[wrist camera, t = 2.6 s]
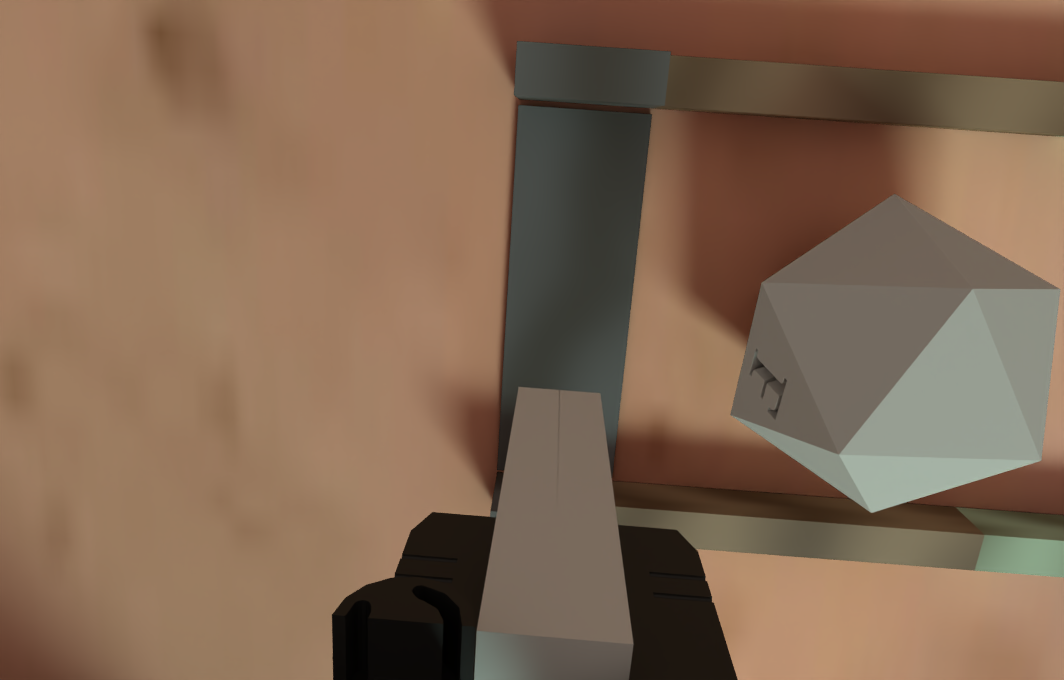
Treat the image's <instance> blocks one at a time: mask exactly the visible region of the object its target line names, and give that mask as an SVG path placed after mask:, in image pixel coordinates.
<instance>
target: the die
mask: <svg viewBox="0 0 1064 680" xmlns="http://www.w3.org/2000/svg"><path fill="white" fill-rule="evenodd" d="M1059 297H1060V289H1059V288H1057V287H1055V286H1054V285H1052V284H1050V283H1048V282H1047V281H1045V280H1043V279H1041V278H1040V277H1038V276H1036V275H1034V274H1033V273H1031V272H1029V271H1028V270H1026V269H1024V268H1022V267H1021V266H1019V265H1017V264H1015V263H1014V262H1012V261H1010V260H1008V259H1007V258H1005V257H1003V256H1001V255H1000V254H998V253H996V252H995V251H993V250H991V249H989V248H988V247H986V246H984V245H982V244H981V243H979V242H977V241H975V240H974V239H972V238H970V237H969V236H967V235H965V234H963V233H962V232H960V231H958V230H956V229H955V228H953V227H951V226H949V225H948V224H946V223H944V222H942V221H941V220H939V219H937V218H936V217H934V216H932V215H930V214H929V213H927V212H925V211H923V210H922V209H920V208H918V207H916V206H915V205H913V204H911V203H910V202H908V201H906V200H904V199H903V198H901V197H899V196H897V195H896V194H893V195H892V196H890V197H889V198H887V199H886V200H884V201H883V202H881V203H880V204H878V205H877V206H875V207H874V208H872V209H871V210H869V211H868V212H866V213H865V214H863V215H862V216H860V217H859V218H857V219H856V220H854V221H853V222H851V223H850V224H848V225H847V226H845V227H844V228H842V229H841V230H839V231H838V232H836V233H835V234H833V235H832V236H830V237H829V238H827V239H826V240H824V241H823V242H821V243H820V244H818V245H817V246H816V247H814V248H813V249H811V250H810V251H808V252H807V253H805V254H804V255H802V256H801V257H799V258H798V259H796V260H795V261H793V262H792V263H790V264H789V265H787V266H786V267H784V268H783V269H781V270H780V271H778V272H777V273H775V274H774V275H772V276H771V277H769V278H768V279H766V280H765V281H763V282H762V283H761V288H760V292H759V296H758V300H757V304H756V309H755V313H754V317H753V321H752V326H751V330H750V334H749V338H748V343H747V347H746V351H745V355H744V359H743V364H742V368H741V372H740V376H739V381H738V385H737V389H736V393H735V397H734V402H733V406H732V410H731V414H730V415H731V416H733V417H734V418H736V419H737V420H739V421H740V422H741V423H743V424H744V425H746V426H747V427H749V428H750V429H752V430H753V431H754V432H756V433H757V434H759V435H760V436H762V437H763V438H764V439H766V440H767V441H769V442H770V443H772V444H773V445H775V446H776V447H777V448H779V449H780V450H782V451H783V452H785V453H786V454H787V455H789V456H790V457H792V458H793V459H795V460H796V461H797V462H799V463H800V464H802V465H803V466H805V467H806V468H808V469H809V470H810V471H812V472H813V473H815V474H816V475H818V476H819V477H820V478H822V479H823V480H825V481H826V482H828V483H829V484H831V485H832V486H833V487H835V488H836V489H838V490H839V491H841V492H842V493H843V494H845V495H846V496H848V497H849V498H851V499H852V500H854V501H855V502H856V503H858V504H859V505H861V506H862V507H864V508H865V509H866V510H868V511H869V512H871V513H873V512H876V511H879V510H883V509H886V508H889V507H892V506H896V505H899V504H902V503H905V502H909V501H912V500H915V499H918V498H922V497H925V496H928V495H931V494H935V493H938V492H941V491H944V490H948V489H951V488H954V487H957V486H961V485H964V484H967V483H970V482H974V481H977V480H980V479H984V478H987V477H990V476H993V475H997V474H1000V473H1003V472H1006V471H1010V470H1013V469H1016V468H1019V467H1023V466H1026V465H1029V464H1032V463H1036V462H1039V461H1041V458H1042V449H1043V440H1044V431H1045V422H1046V413H1047V404H1048V395H1049V386H1050V377H1051V368H1052V359H1053V350H1054V341H1055V332H1056V323H1057V314H1058V306H1059Z"/></svg>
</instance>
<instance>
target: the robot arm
mask: <svg viewBox="0 0 1064 680" xmlns="http://www.w3.org/2000/svg"><path fill="white" fill-rule="evenodd" d="M332 635H333V680H737V676H736V673H735V670H734V667H733V663H732V660H731V657H730V654H729V651H728V647H727V644H726V641H725V638H724V634H723V631H722V628H721V625H720V622H719V618H718V615H717V612H716V609H715V605H714V603H713V602H712V596H711V593H710V589H709V586H708V583H707V581H705V573H704V570H703V567H702V563H701V560H700V557H699V554H698V551H697V550H696V549H695V548H694V547H693V546H692V545H691V544H690V543H689V542H688V541H687V540H686V539H685V538H684V537H683V536H682V535H681V534H680V532H679V531H678V530H674V529H662V528H650V527H638V526H625V525H618V523H617V516H616V508H615V500H614V493H613V485H612V478H611V470H610V463H609V455H608V448H607V440H606V432H605V425H604V417H603V410H602V402H601V395H600V393H591V392H578V391H566V390H553V389H540V388H527V387H519V388H518V394H517V400H516V406H515V412H514V417H513V423H512V429H511V435H510V441H509V446H508V452H507V458H506V464H505V469H504V475H503V481H502V487H501V493H500V498H499V504H498V510H497V516H496V517H485V516H472V515H460V514H448V513H436V512H432V513H431V514H430V515H429V516H428V517H426V518H425V519H424V520H423V521H422V522H421V523H419V524H418V525H417V526H416V527H415V528H414V529H412V530H411V532H410V535H409V537H408V540H407V543H406V545H405V548H404V551H403V553H402V559H400V561H399V564H398V567H397V569H396V572H395V578H389V579H385V580H382V581H378V582H375V583H371V584H368V585H365V586H364V587H362V588H361V589H359V590H357V591H356V592H354V593H352V594H351V595H349V596H347V597H346V598H345V599H344V600H343V602H342V603H341V604H340V605H339V607H338V608H337V609H336V610H335V612H334V613H333V614H332Z"/></svg>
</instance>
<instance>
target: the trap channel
mask: <svg viewBox="0 0 1064 680" xmlns="http://www.w3.org/2000/svg"><path fill="white" fill-rule="evenodd" d="M514 95H515V96H516V97H517V98H518V99H525V100H539V101H554V102H568V103H583V104H597V105H611V106H626V107H640V108H655V109H669V110H684V111H698V112H712V113H727V114H741V115H756V116H770V117H785V118H799V119H814V120H828V121H842V122H857V123H871V124H886V125H900V126H915V127H929V128H943V129H958V130H972V131H987V132H1001V133H1016V134H1030V135H1045V136H1059V137H1064V82H1055V81H1040V80H1025V79H1011V78H996V77H981V76H967V75H952V74H937V73H923V72H908V71H893V70H879V69H864V68H849V67H835V66H820V65H806V64H791V63H776V62H762V61H747V60H732V59H718V58H703V57H688V56H674V55H671V52H670V51H655V50H641V49H626V48H611V47H597V46H582V45H567V44H553V43H538V42H523V41H517V52H516V70H515V88H514ZM651 119H652V114H639V113H625V112H610V111H596V110H582V109H567V108H553V107H538V106H524V105H519V106H518V123H517V140H516V157H515V174H514V191H513V208H512V225H511V243H510V260H509V277H508V294H507V311H506V328H505V345H504V362H503V380H502V397H501V414H500V431H499V448H498V465H497V470H504V469H505V464H506V458H507V452H508V446H509V441H510V435H511V429H512V423H513V417H514V412H515V406H516V400H517V394H518V388H519V387H527V388H540V389H553V390H566V391H578V392H591V393H600V395H601V402H602V410H603V417H604V425H605V432H606V440H607V448H608V455H609V463H610V470H611V478H612V474H613V465H614V456H615V447H616V438H617V429H618V420H619V410H620V401H621V392H622V383H623V374H624V365H625V356H626V347H627V337H628V328H629V319H630V310H631V301H632V292H633V283H634V274H635V264H636V255H637V246H638V237H639V228H640V219H641V210H642V201H643V191H644V182H645V173H646V164H647V155H648V146H649V137H650V128H651ZM503 475H504V473H502V472H497V477H496V483H495V489H494V494H493V500H492V506H491V513H490V517H496V516H497V510H498V504H499V498H500V493H501V487H502V481H503ZM612 485H613V493H614V500H615V508H616V516H617V523H618V525H625V526H638V527H650V528H662V529H674V530H678V531H679V532H680V534H681V535H682V536H683V537H684V538H685V539H686V540H687V541H688V542H689V543H690V544H691V545H692V546H693V547H694V548H695V549H704V550H717V551H730V552H743V553H756V554H768V555H781V556H794V557H807V558H820V559H833V560H846V561H859V562H872V563H885V564H898V565H911V566H923V567H936V568H949V569H962V570H975V571H988V572H1001V573H1014V574H1027V575H1040V576H1053V577H1064V515H1053V514H1040V513H1027V512H1013V511H1000V510H987V509H974V508H961V507H948V506H935V505H922V504H909V503H902V504H899V505H896V506H892V507H889V508H886V509H883V510H879V511H876V512H873V513H871V512H869V511H868V510H866V509H865V508H864V507H862V506H861V505H859V504H858V503H856V502H855V501H854V500H852V499H843V498H830V497H817V496H804V495H790V494H777V493H764V492H751V491H738V490H725V489H712V488H699V487H686V486H672V485H659V484H646V483H633V482H620V481H612Z"/></svg>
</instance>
